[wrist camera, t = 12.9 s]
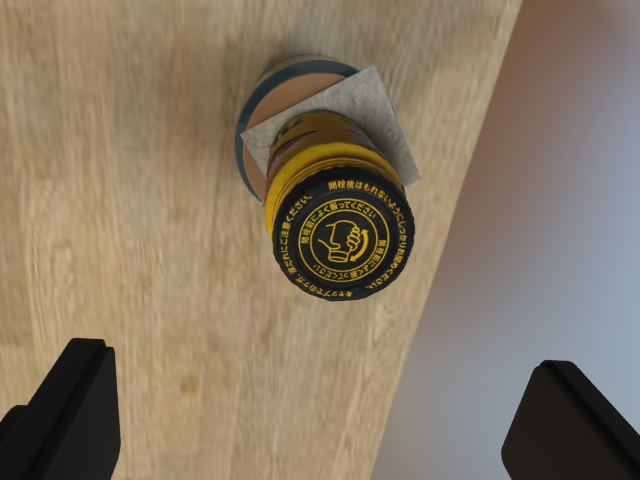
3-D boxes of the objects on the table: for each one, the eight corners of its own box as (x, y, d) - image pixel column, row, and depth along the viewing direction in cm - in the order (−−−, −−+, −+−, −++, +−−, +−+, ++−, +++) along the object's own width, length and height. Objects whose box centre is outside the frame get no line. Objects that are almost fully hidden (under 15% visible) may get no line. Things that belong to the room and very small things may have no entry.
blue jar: (249, 44, 33) (238, 47, 24) (386, 65, 34) (424, 75, 25) (239, 180, 37) (227, 226, 28) (361, 193, 39) (387, 242, 30)
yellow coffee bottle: (239, 133, 26) (212, 204, 15) (374, 63, 25) (449, 84, 14) (297, 236, 29) (309, 357, 18) (419, 177, 28) (510, 267, 17)
